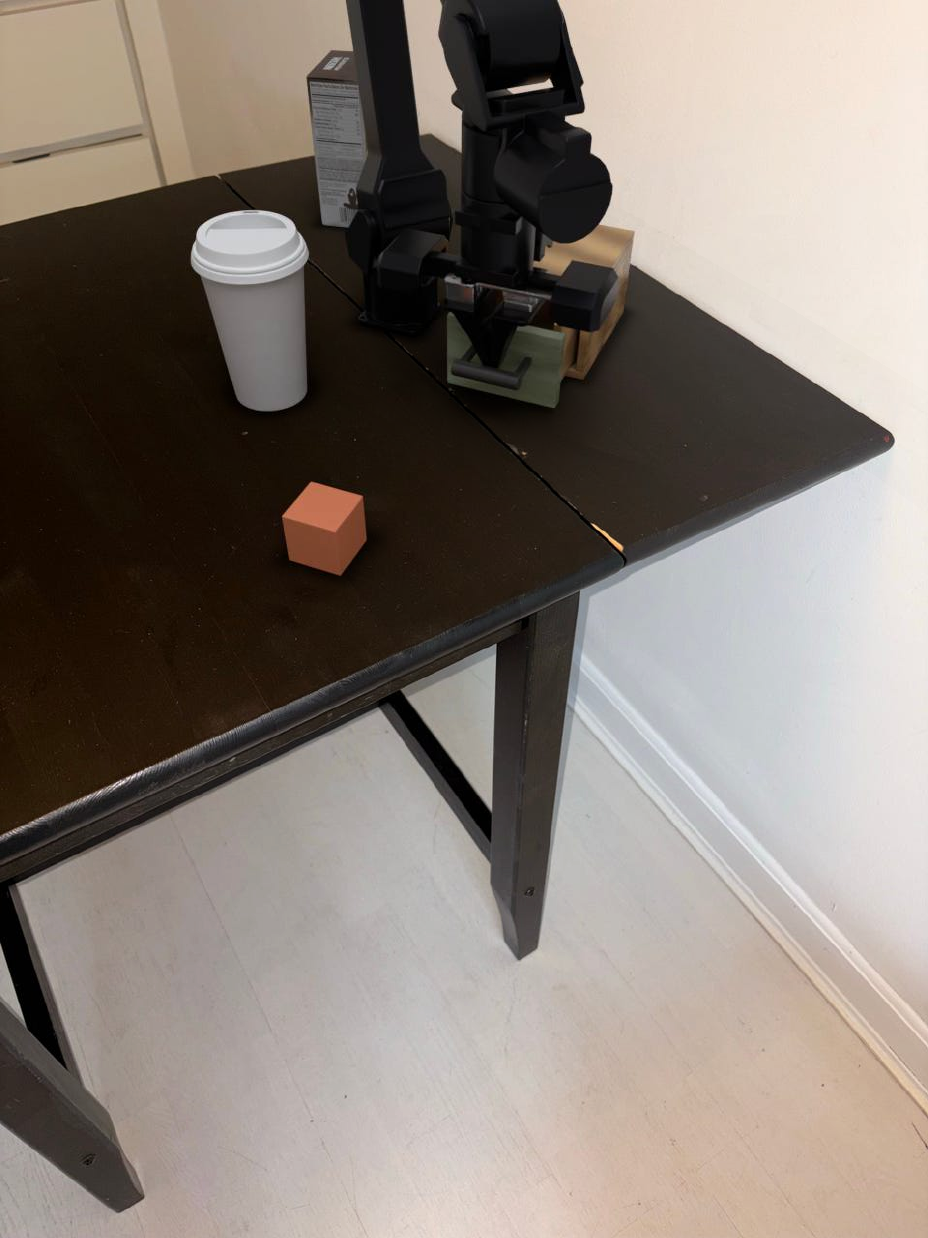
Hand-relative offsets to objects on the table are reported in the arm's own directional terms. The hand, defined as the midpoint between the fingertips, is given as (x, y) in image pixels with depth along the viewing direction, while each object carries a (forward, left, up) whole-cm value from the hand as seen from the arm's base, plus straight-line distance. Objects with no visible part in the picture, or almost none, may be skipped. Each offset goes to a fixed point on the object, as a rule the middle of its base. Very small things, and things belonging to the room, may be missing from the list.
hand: (493, 371), depth 82 cm
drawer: (0, +6, -4) cm, 7 cm away
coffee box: (-30, +33, -5) cm, 45 cm away
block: (-5, -21, -5) cm, 22 cm away
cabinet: (0, +16, -5) cm, 16 cm away
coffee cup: (-20, -4, -5) cm, 21 cm away
